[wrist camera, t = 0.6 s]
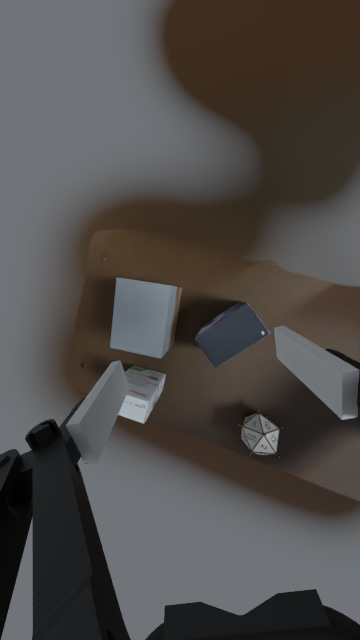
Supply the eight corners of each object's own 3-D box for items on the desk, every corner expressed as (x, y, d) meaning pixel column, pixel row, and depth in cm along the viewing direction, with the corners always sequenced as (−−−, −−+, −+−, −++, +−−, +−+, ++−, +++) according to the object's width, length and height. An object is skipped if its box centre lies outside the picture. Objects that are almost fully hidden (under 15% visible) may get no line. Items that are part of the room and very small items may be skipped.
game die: (246, 416, 45) (227, 452, 39) (248, 392, 42) (227, 427, 35) (287, 439, 40) (272, 485, 34) (294, 413, 36) (278, 460, 30)
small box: (239, 298, 39) (248, 300, 28) (257, 324, 39) (273, 334, 28) (198, 327, 41) (193, 338, 31) (215, 351, 41) (216, 369, 31)
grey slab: (177, 286, 36) (171, 285, 31) (167, 350, 38) (160, 358, 33) (129, 279, 38) (116, 277, 33) (122, 341, 40) (109, 347, 35)
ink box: (129, 382, 46) (101, 411, 34) (133, 363, 45) (105, 387, 34) (162, 392, 45) (144, 425, 33) (166, 373, 44) (149, 401, 32)
